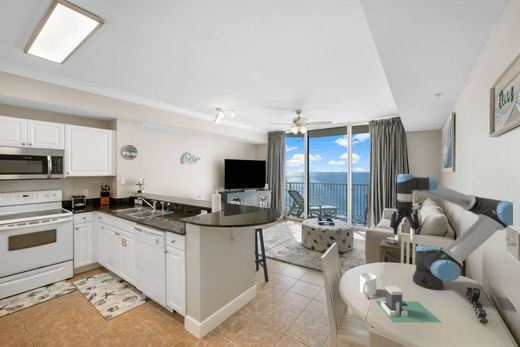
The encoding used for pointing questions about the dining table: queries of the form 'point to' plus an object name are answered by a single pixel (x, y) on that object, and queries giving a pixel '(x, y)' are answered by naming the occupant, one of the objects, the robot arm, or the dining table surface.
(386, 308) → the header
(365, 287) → the mug
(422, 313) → the board
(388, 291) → the plug
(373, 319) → the dining table surface
